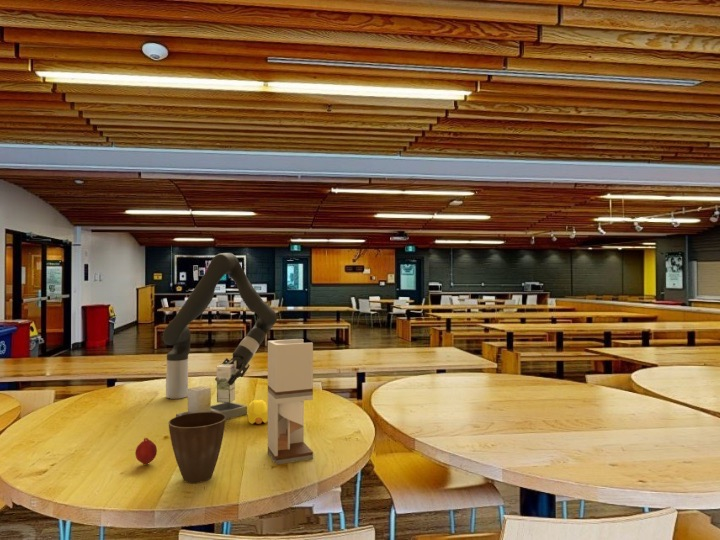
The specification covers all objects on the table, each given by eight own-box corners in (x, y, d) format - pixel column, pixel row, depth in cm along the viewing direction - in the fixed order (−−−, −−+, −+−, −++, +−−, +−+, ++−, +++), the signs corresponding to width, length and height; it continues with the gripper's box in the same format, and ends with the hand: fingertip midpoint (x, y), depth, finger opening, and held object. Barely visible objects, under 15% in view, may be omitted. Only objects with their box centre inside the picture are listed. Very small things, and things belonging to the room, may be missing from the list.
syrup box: (235, 399, 196) (235, 363, 196) (230, 403, 190) (230, 366, 190) (222, 399, 196) (221, 363, 197) (216, 402, 191) (216, 366, 191)
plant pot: (155, 484, 128) (155, 423, 128) (193, 464, 142) (194, 409, 142) (201, 493, 122) (201, 430, 123) (236, 471, 136) (236, 414, 137)
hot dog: (248, 427, 177) (269, 425, 179) (248, 409, 177) (269, 407, 179) (247, 413, 195) (267, 412, 196) (247, 397, 195) (267, 396, 196)
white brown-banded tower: (275, 464, 141) (275, 345, 142) (267, 452, 151) (267, 340, 151) (312, 458, 146) (312, 342, 146) (302, 447, 155) (302, 338, 156)
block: (187, 420, 183) (187, 388, 183) (201, 416, 188) (201, 386, 188) (196, 423, 179) (196, 391, 180) (210, 419, 184) (210, 388, 184)
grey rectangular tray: (176, 422, 183) (176, 414, 183) (228, 408, 201) (228, 401, 201) (194, 428, 175) (194, 420, 175) (247, 413, 194) (247, 406, 194)
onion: (139, 461, 144) (139, 434, 144) (159, 460, 144) (159, 433, 145) (132, 468, 138) (132, 440, 138) (152, 468, 139) (153, 440, 139)
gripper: (230, 343, 204) (206, 375, 194) (252, 345, 195) (228, 379, 186) (240, 354, 208) (217, 385, 199) (262, 357, 199) (239, 390, 190)
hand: (223, 382), depth 192 cm, fingers closed on syrup box, 8 cm apart
